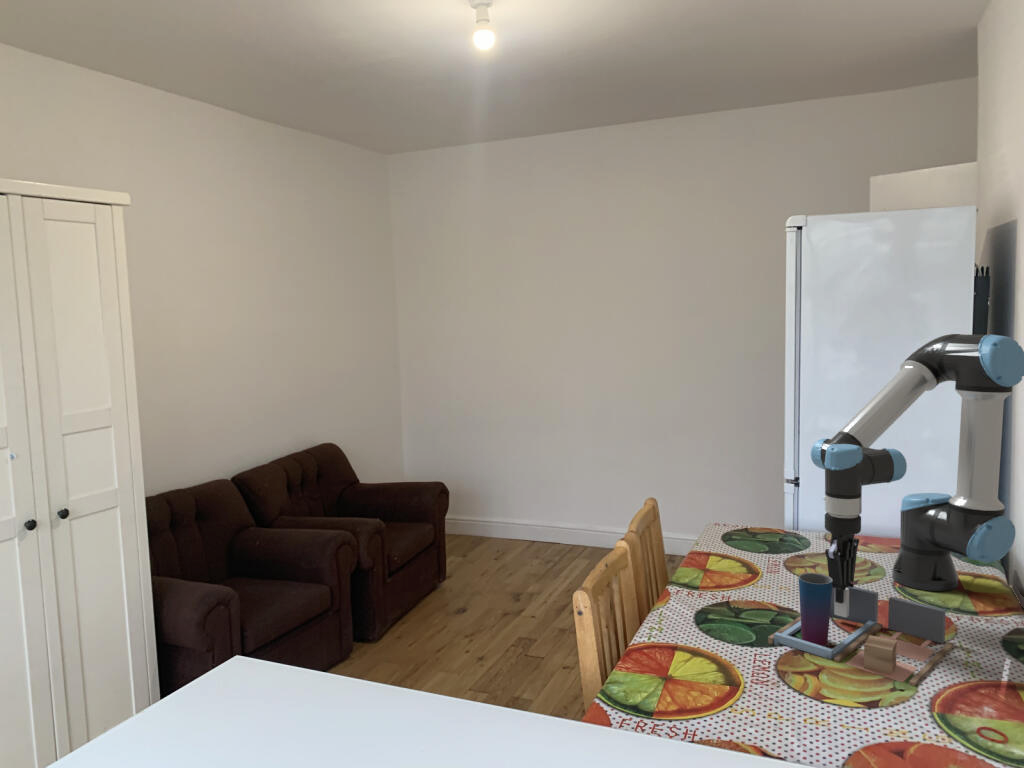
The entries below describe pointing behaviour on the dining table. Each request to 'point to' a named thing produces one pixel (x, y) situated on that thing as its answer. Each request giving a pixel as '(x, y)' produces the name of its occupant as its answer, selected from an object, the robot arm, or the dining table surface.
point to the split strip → (912, 622)
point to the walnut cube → (880, 654)
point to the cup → (815, 607)
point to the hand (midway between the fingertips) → (841, 614)
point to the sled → (860, 611)
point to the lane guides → (865, 637)
